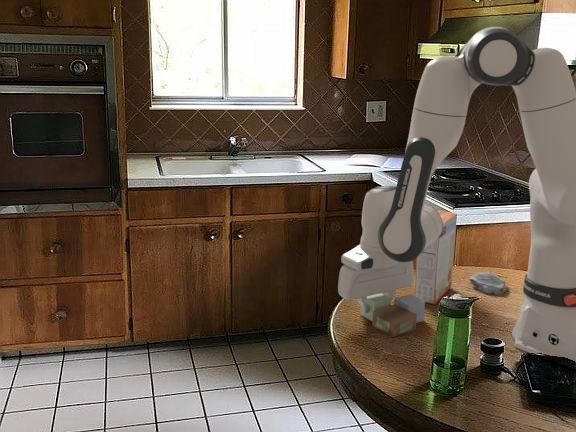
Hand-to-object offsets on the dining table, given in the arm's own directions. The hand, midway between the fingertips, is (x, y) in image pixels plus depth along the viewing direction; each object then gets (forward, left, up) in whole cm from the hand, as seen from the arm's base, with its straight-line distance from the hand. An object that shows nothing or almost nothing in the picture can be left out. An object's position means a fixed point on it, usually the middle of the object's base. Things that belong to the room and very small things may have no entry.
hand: (375, 309), depth 155 cm
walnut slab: (-7, 0, -2) cm, 7 cm away
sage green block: (0, 0, -2) cm, 2 cm away
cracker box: (+4, -22, -2) cm, 22 cm away
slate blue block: (-5, -6, -2) cm, 8 cm away
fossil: (+1, -39, -2) cm, 39 cm away
